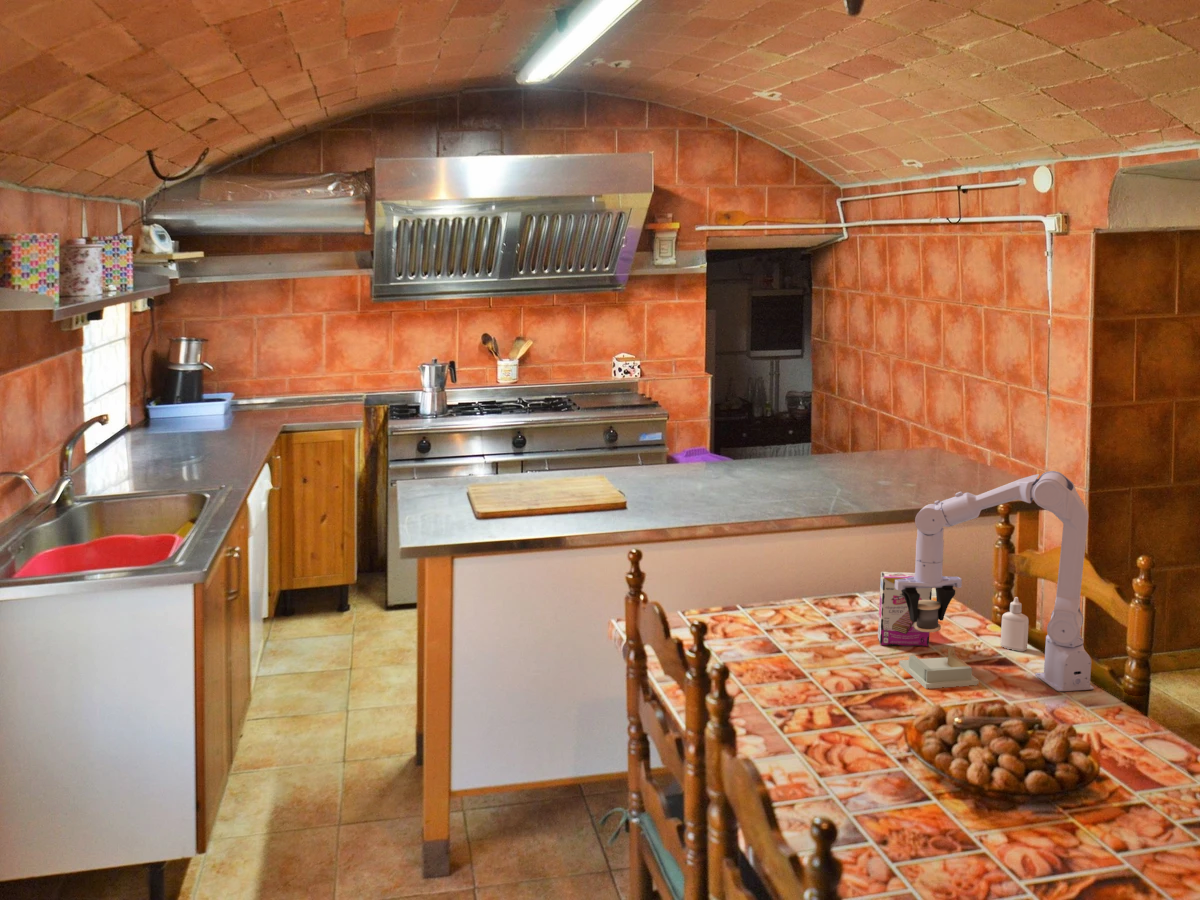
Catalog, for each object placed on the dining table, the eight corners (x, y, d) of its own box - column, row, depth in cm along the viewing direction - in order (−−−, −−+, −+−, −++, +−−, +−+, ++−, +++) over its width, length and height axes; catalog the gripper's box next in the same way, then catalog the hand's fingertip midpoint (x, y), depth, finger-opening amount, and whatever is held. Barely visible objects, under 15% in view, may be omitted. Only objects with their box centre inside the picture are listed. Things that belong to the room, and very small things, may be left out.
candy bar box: (880, 646, 259) (882, 577, 256) (877, 638, 263) (879, 571, 261) (930, 647, 257) (933, 578, 255) (926, 640, 262) (929, 571, 260)
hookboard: (978, 685, 235) (979, 664, 234) (925, 688, 233) (926, 668, 232) (948, 661, 248) (949, 641, 248) (899, 664, 247) (899, 645, 246)
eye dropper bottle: (1014, 653, 253) (1017, 602, 251) (997, 645, 258) (999, 595, 256) (1030, 650, 254) (1033, 599, 252) (1012, 643, 260) (1015, 592, 257)
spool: (945, 630, 245) (945, 606, 244) (920, 633, 244) (920, 609, 243) (933, 622, 251) (933, 598, 250) (910, 624, 250) (909, 601, 249)
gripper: (952, 553, 250) (950, 612, 252) (890, 556, 248) (887, 615, 250) (967, 562, 243) (964, 622, 245) (902, 565, 241) (900, 625, 243)
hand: (926, 619), depth 247 cm, fingers closed on spool, 5 cm apart
